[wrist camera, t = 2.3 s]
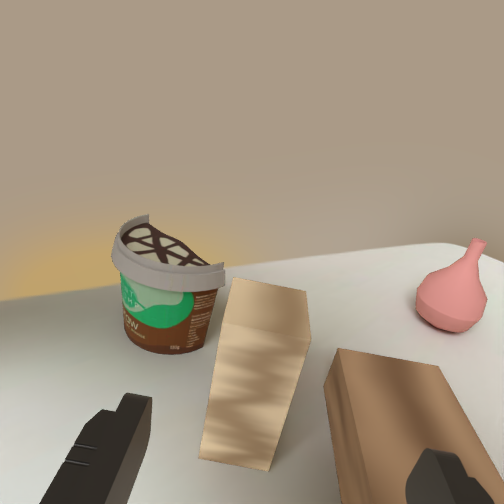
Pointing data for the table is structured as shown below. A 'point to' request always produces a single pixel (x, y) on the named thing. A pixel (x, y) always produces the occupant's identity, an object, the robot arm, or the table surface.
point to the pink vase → (454, 293)
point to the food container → (164, 289)
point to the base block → (396, 426)
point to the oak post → (255, 373)
